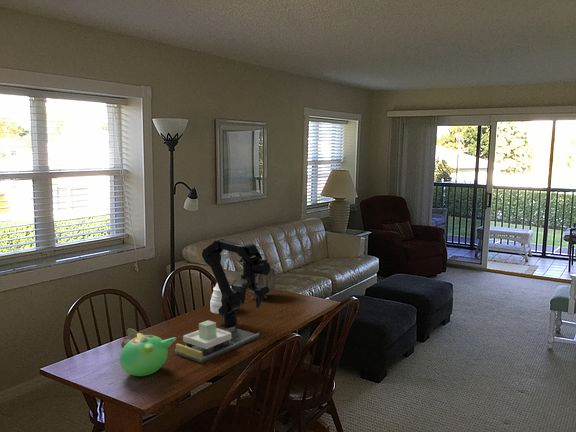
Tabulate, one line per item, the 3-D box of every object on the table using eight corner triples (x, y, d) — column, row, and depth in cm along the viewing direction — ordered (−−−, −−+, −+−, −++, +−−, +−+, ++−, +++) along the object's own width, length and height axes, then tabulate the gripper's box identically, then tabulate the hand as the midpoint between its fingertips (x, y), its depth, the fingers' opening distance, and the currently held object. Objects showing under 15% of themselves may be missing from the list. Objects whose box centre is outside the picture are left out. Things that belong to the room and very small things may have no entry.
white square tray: (183, 348, 204) (183, 335, 203) (210, 337, 215) (210, 325, 215) (206, 356, 195) (206, 343, 194) (233, 344, 207) (233, 332, 206)
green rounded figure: (143, 360, 195) (141, 324, 194) (179, 366, 189) (177, 329, 187) (111, 379, 179) (109, 340, 177) (149, 387, 173) (147, 346, 171)
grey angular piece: (128, 352, 200) (121, 328, 203) (121, 356, 204) (113, 334, 206) (146, 346, 207) (139, 324, 210) (138, 351, 211) (131, 329, 213)
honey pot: (240, 310, 257) (239, 276, 255) (218, 315, 249) (217, 280, 247) (226, 304, 267) (225, 272, 265) (206, 309, 259) (204, 276, 257)
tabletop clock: (264, 293, 286) (263, 251, 283) (276, 296, 281) (275, 253, 278) (248, 300, 275) (247, 255, 272) (261, 302, 269) (259, 257, 266)
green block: (199, 337, 204) (198, 323, 203) (208, 334, 208) (207, 320, 207) (207, 340, 201) (207, 325, 200) (216, 336, 205) (216, 322, 204)
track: (175, 353, 202) (174, 344, 201) (234, 329, 228) (233, 321, 227) (201, 363, 192) (200, 353, 191) (259, 337, 218) (259, 328, 218)
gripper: (221, 273, 221) (223, 306, 223) (252, 278, 210) (253, 314, 212) (239, 268, 230) (240, 300, 232) (269, 273, 218) (270, 307, 220)
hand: (250, 305), depth 224 cm, fingers open, 9 cm apart
